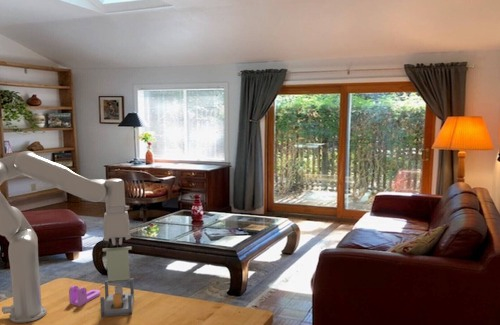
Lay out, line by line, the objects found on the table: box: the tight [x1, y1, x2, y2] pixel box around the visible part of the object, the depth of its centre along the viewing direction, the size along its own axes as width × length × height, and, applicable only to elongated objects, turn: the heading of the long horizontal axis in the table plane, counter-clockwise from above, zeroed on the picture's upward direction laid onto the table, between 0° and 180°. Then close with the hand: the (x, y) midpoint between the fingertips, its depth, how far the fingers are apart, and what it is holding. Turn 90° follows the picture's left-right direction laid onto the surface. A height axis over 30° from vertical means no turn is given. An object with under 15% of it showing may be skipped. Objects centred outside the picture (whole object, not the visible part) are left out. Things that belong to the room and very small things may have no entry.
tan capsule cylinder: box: [112, 293, 122, 309], centre depth 171 cm, size 3×3×6 cm
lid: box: [101, 246, 133, 284], centre depth 179 cm, size 11×15×1 cm
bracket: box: [68, 285, 101, 307], centre depth 183 cm, size 13×6×7 cm, turn 156°
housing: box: [99, 277, 135, 318], centre depth 175 cm, size 11×15×8 cm
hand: (118, 253), depth 180 cm, fingers closed
